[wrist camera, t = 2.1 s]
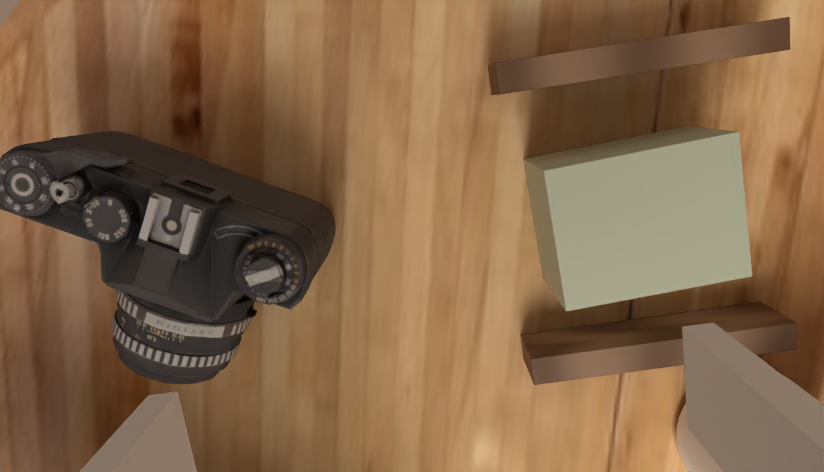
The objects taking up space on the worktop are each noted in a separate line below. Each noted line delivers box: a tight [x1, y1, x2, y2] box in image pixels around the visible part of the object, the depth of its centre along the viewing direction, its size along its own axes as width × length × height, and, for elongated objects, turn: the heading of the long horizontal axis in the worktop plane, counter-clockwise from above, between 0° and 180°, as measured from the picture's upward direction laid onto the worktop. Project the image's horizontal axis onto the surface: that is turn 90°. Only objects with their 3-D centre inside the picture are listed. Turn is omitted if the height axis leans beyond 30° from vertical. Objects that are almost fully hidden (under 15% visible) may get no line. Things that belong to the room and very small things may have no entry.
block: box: [523, 126, 752, 311], centre depth 33 cm, size 9×7×6 cm
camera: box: [0, 131, 335, 384], centre depth 31 cm, size 14×11×10 cm
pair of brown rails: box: [488, 17, 797, 385], centre depth 34 cm, size 14×17×4 cm
